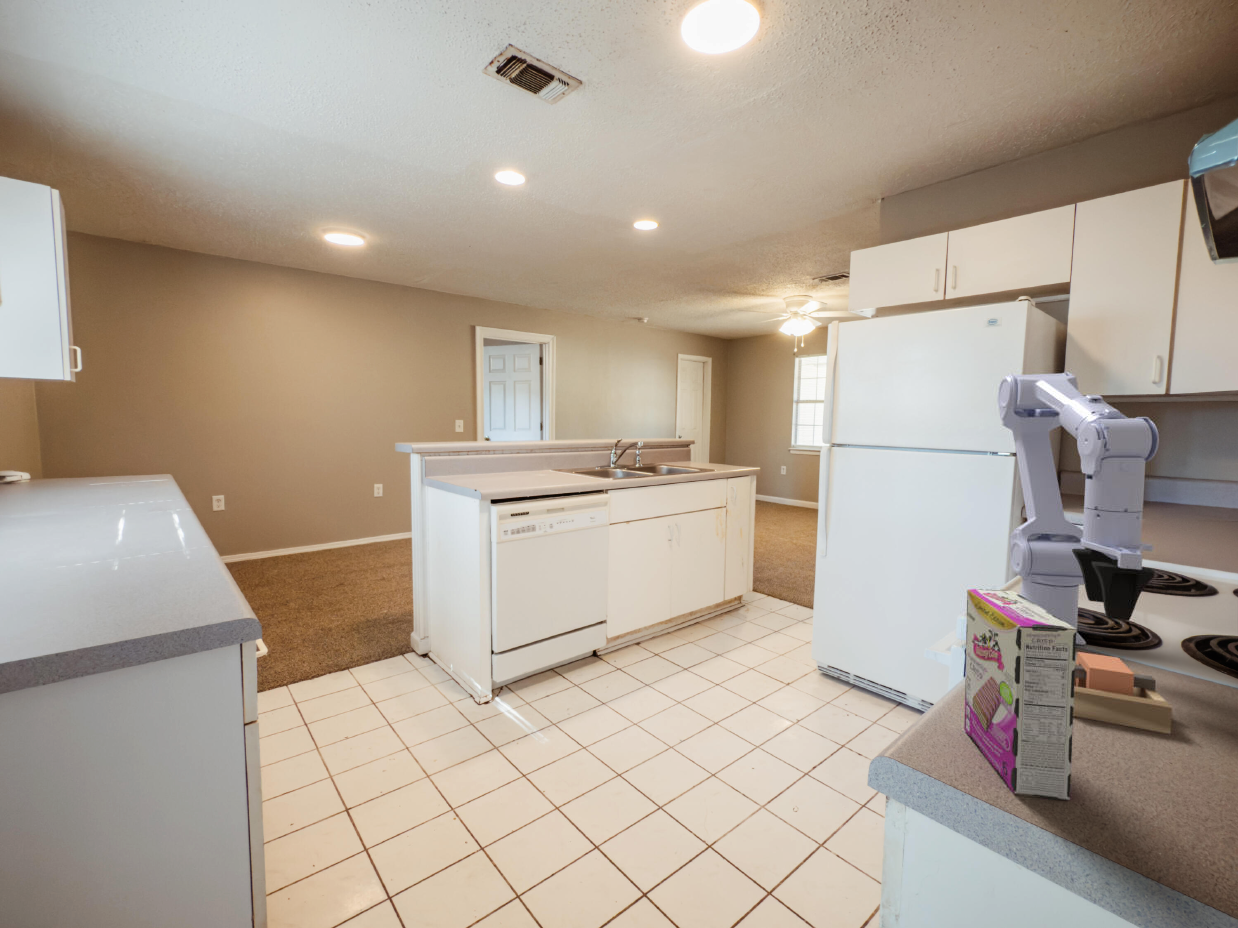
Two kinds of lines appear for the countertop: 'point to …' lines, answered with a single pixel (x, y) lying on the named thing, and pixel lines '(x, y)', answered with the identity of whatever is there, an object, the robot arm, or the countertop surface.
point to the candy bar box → (1020, 691)
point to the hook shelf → (1124, 704)
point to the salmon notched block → (1105, 674)
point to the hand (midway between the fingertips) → (1107, 609)
